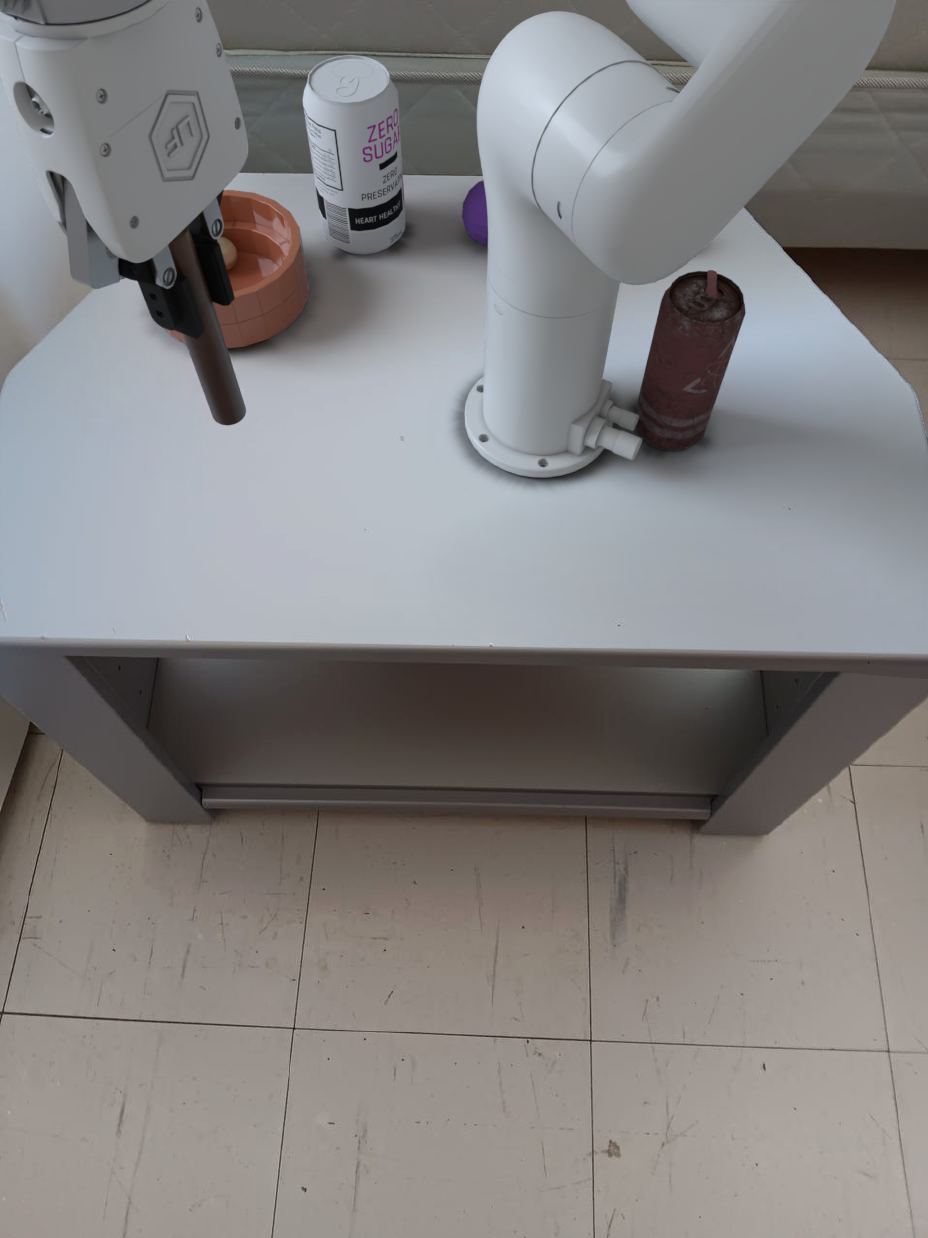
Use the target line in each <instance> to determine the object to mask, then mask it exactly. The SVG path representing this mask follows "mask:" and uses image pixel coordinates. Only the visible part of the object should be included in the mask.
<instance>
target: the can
mask: <svg viewBox="0 0 928 1238" xmlns="http://www.w3.org/2000/svg"><path fill="white" fill-rule="evenodd" d="M746 314H747V313H746V304H745V299H744V293H743V291H742V290H741V288H740V286H739V285H738V284H737V283H735V282H734V281H733V280H732V279H731V278H729V277H727V276H725V275H723V274H721V273H718V272H717V271H715V270H713V269H709V270H707V271H706V270H696V271H691V272H690V271H689V272H686V273H684V274H682V275H680V276H677V278H676V279H675V280H673V282H672V283H670V286H669V287H668V288H667V289H665V290H664V293H663V295H662V298H661V300H660V305H659V309H658V313H657V316H656V317H657V318H656V321H655V325H654V329H653V334H652V339H651V343H650V346H649V351H648V355H647V359H646V363H645V368H644V372H643V376H642V380H641V385H640V389H639V394H638V397H637V402H636V406H635V409H634V413H635V414H637V415H639V420H638V422H637V425H636V427H635V429H636V431H637V433H638V434H639V436H640V438H642V440H644V441H645V443H647V444H649V445H651V446H652V447H653V448H655V449H659V450H662V451H668V452H669V451H671V452H676V451H682V450H686V449H688V448H690V447H691V446H694V445H695V444H698V442H700V440H701V439H702V438H704V435H705V433H706V431H707V428H708V424H709V421H710V419H711V415H712V413H713V410H714V406H715V404H716V401H717V398H718V395H719V392H720V389H721V386H722V384H723V380H724V378H725V375H726V372H727V369H728V366H729V363H730V360H731V357H732V355H733V352H734V348H735V346H736V342H737V340H738V337H739V335H740V331H741V328H742V326H743V322H744V319H745V318H746V317H745V316H746Z"/></svg>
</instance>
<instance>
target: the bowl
mask: <svg viewBox="0 0 928 1238" xmlns="http://www.w3.org/2000/svg"><path fill="white" fill-rule="evenodd" d="M220 211H221V214H222V218H223V221H224V230H223V233H222V235H221V237H224V238H227V239H228V240H230V241H231V242H232V243H233V244H234V246H235V247H236V250H237V261H236V263H235V265H234V266H233V267H232V268H231V269H229V270H227V272H228V275H229V279H230V282H231V286H232V289H233V293H234V296H235V299H234V300H233V301H232V303H231V304H230V305H229V306H226V305H225V306H222V305H220V304H217V303H214V302H213V305H214V308H215V311H216V315H217V318H218V321H219V324H220V327H221V330H222V334H223V337H224V340H225V343H226V346H227V349H234V348H244V347H247V346H251V345H254V344H258V343H260V342H263V341H266V340H268V339H271V338H272V337H274V336H275V335H277V334H279V333H281V332H282V331H284V330H285V329H287V328H289V327H290V326H291V324H293V322H294V321H296V319H297V318H298V317H299V315H300V314H301V313H302V312H303V311H304V308H305V306H306V303H307V301H308V298H309V296H310V279H309V273H308V266H307V260H306V256H305V250H304V244H303V238H302V232H301V227H300V226H299V224H298V222H297V221H296V219H295V217H294V216H293V214H292V213H291V212H290V210H288V209H287V208H286V207H284V205H281V203H279V202H277V201H276V200H275V199H272V198H270V197H266V196H264V195H261V194H259V193H256V192H251V191H244V190H243V191H242V190H235V189H224V191H223V195H222V199H221V204H220ZM161 328H162V329H163V330H164V331H165V332H167V334H169V335H170V336H171V337H172V338H175V339H177V340H179V341H182V342H183V343H184V342H185V339H184V337H183V334H182V333H180V332H177V331H175V330H173V331H171V330H168V329H165V328H163V327H161ZM185 343H186V342H185Z"/></svg>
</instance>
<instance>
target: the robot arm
mask: <svg viewBox="0 0 928 1238" xmlns="http://www.w3.org/2000/svg"><path fill="white" fill-rule="evenodd" d="M625 2H626V4H627V6H628V7H629V9H630V10H631V11H632V12H633V13H634V14H635V16H636V17H637V18H638V19H639V20H640V21H641V22H642V23H643V24H644V25H645V26H646V27H647V28H648V29H649V30H650V31H651V32H652V33H654V35H656V36H657V37H658V38H659V39H660V40H661V41H662V42H663V43H665V44H666V45H667V47H669V48H670V49H672V50H673V51H674V52H675V53H677V54H678V55H679V56H680V57H681V58H683V59H684V61H686V62H687V63H688V64H689V65H691V66H692V67H693V68H694V69H696V71H695V72H694V73H693V75H692V76H691V78H690V79H689V81H687V83H686V84H685V85H684V86H683V88H682V90H681V91H680V90H679V89H678V87H676V86H675V85H673V84H672V83H671V82H670V81H669V80H668V79H666V78H665V77H664V76H663V75H662V73H661V72H660V71H659V70H658V69H657V67H655V66H654V65H652V64H651V63H650V62H649V61H648V60H647V59H645V57H643V56H642V55H641V54H640V53H639V52H638V51H636V50H635V49H633V48H632V47H631V45H629V44H628V43H626V42H625V41H624V40H623V39H622V38H620V37H619V36H618V35H616V33H614V32H613V31H611V30H610V29H609V28H607V27H606V26H604V25H603V24H601V23H599V22H597V21H595V20H593V19H591V18H589V17H588V16H585V15H582V14H579V13H575V12H570V11H563V10H557V11H556V10H555V11H547V12H543V13H539V14H536V15H533V16H531V17H529V18H527V19H525V20H523V21H521V22H520V23H519V24H517V25H516V26H514V27H513V29H511V30H510V31H509V32H508V33H507V34H506V35H505V37H503V38H502V39H501V41H500V42H499V44H498V45H497V47H496V48H495V50H494V51H493V53H492V54H491V56H490V58H489V60H488V62H487V65H486V67H485V70H484V73H483V75H482V79H481V82H480V86H479V91H478V98H477V105H476V136H477V145H478V154H479V160H480V161H479V162H480V167H481V174H482V178H483V179H482V181H483V180H484V187H485V193H486V202H487V215H488V246H487V267H486V289H485V290H486V292H485V321H484V322H485V323H484V330H485V331H484V359H483V362H484V363H483V375H482V377H480V379H478V380H477V381H476V383H474V385H473V386H472V388H471V390H470V391H469V392H468V396H467V398H466V401H465V406H464V427H465V430H466V433H467V437H468V439H469V441H470V442H471V444H472V446H473V448H474V449H475V450H476V451H477V452H478V453H479V454H480V456H481V457H483V458H484V459H485V460H487V461H488V462H489V463H491V464H492V465H494V466H496V467H497V468H499V469H501V470H504V471H505V472H509V473H512V474H514V475H517V476H522V477H530V478H553V477H561V476H564V475H568V474H571V473H574V472H577V471H578V470H580V469H583V468H585V467H587V466H588V465H590V463H592V462H593V461H595V459H596V460H597V458H598V457H599V456H600V455H601V454H602V452H603V451H604V450H605V449H606V450H608V451H611V452H612V453H613V454H615V455H618V456H620V457H623V458H625V459H628V460H630V461H634V460H635V458H636V457H637V455H638V453H639V451H640V449H641V445H642V442H643V438H642V437H641V436H637V435H635V434H632V433H631V432H630V433H629V432H627V431H625V430H622V429H621V430H619V429H617V428H615V427H614V426H613V425H614V424H617V425H618V426H619V427H622V428H625V429H627V430H630V431H634V430H635V429H636V425H637V422H638V420H639V415H637V414H635V412H633V411H630V410H628V409H622V408H620V407H617V406H615V402H614V401H613V400H611V399H610V398H611V397H610V396H611V392H612V386H613V383H612V382H611V381H609V380H606V379H603V378H604V373H605V368H606V367H605V366H606V361H607V357H608V351H609V345H610V339H611V335H612V328H613V324H614V319H615V313H616V307H617V303H618V298H619V297H618V296H619V291H620V286H621V283H622V284H625V285H629V286H645V285H649V284H653V283H656V282H658V281H662V280H663V279H666V278H668V277H669V276H671V275H673V274H675V273H676V272H678V271H679V270H680V269H682V268H684V267H685V266H686V265H688V263H690V262H691V261H692V260H693V259H695V257H697V256H698V255H699V254H700V253H701V252H702V251H703V250H704V249H705V248H706V247H707V246H708V245H709V244H711V242H712V241H713V240H715V238H716V237H717V236H718V235H719V234H720V233H721V232H722V231H723V230H724V229H725V228H726V227H727V225H729V224H730V223H731V222H732V220H734V218H735V217H736V216H737V215H738V214H739V212H740V211H742V210H743V208H744V207H745V206H746V205H747V204H748V203H749V202H750V201H751V200H752V198H754V196H756V194H757V193H758V192H759V191H760V190H761V189H762V188H763V187H764V186H765V185H766V183H767V182H768V181H770V179H771V178H772V177H773V176H774V175H775V174H776V173H777V172H778V171H779V170H780V168H781V167H782V166H783V165H784V164H785V163H786V162H787V161H788V160H789V159H790V158H791V157H792V155H793V154H795V152H796V151H797V150H798V149H799V148H800V147H801V146H802V145H803V144H804V143H805V142H806V140H807V139H808V138H809V137H810V136H811V135H812V134H813V133H814V132H815V131H816V130H817V128H818V127H819V126H820V125H821V124H822V123H823V122H824V121H825V120H826V119H827V118H828V117H829V115H830V114H831V113H832V112H833V111H834V109H835V108H836V107H837V106H838V105H840V103H841V101H842V100H843V99H844V98H845V96H846V95H847V94H848V93H849V92H850V91H851V90H852V88H853V87H854V86H855V84H856V83H857V82H858V80H859V79H860V78H861V76H862V75H863V74H864V72H865V70H866V68H867V67H868V66H869V64H870V62H871V61H872V59H873V57H874V55H875V54H876V52H877V50H878V48H879V46H880V44H881V42H882V41H883V38H884V36H885V34H886V32H887V29H888V27H889V25H890V23H891V20H892V18H893V15H894V12H895V8H896V4H897V0H625ZM0 78H1V82H2V85H3V88H4V89H3V90H4V93H5V96H6V99H7V102H8V105H9V109H10V112H11V115H12V117H13V120H14V124H15V127H16V129H17V132H18V135H19V138H20V141H21V143H22V146H23V149H24V152H25V154H26V157H27V160H28V163H29V165H30V167H31V170H32V172H33V174H34V177H35V179H36V182H37V184H38V186H39V188H40V191H41V193H42V196H43V198H44V200H45V202H46V205H47V206H48V208H49V211H50V213H51V214H52V216H53V218H54V221H55V222H56V223H57V225H58V227H59V228H60V230H61V231H62V233H63V234H64V235H65V236H66V237H67V238H66V239H67V250H68V260H69V261H68V263H69V272H70V278H71V279H72V280H73V281H74V282H77V283H79V284H82V285H84V286H87V287H89V288H92V289H94V290H98V289H99V290H100V289H103V288H105V287H108V286H111V285H114V284H118V283H120V281H122V280H124V279H128V280H130V281H134V282H137V284H138V286H139V289H140V291H141V294H142V297H143V299H144V302H145V304H146V307H147V309H148V312H149V314H150V317H151V319H152V320H153V321H154V322H155V323H156V325H158V326H159V327H161V328H162V327H163V328H165V329H168V330H171V331H173V330H175V331H177V332H180V333H182V334H185V335H187V336H190V337H192V338H195V339H199V338H200V337H201V336H202V334H203V333H204V328H205V327H204V324H203V321H202V318H201V315H200V312H199V309H198V306H197V303H196V300H195V297H194V294H193V291H192V288H191V285H190V282H189V279H188V278H187V277H186V276H185V275H183V274H181V273H178V272H177V271H176V268H175V264H174V261H173V258H172V255H171V252H170V249H169V246H168V244H169V243H170V242H171V241H172V240H173V239H174V238H175V237H176V236H177V235H178V234H179V233H180V232H181V231H182V230H183V229H184V228H186V227H187V226H188V225H189V228H190V232H191V235H192V238H193V241H194V244H195V248H196V251H197V254H198V257H199V260H200V263H201V267H202V270H203V273H204V276H205V279H206V283H207V286H208V289H209V292H210V295H211V299H212V302H214V303H217V304H220V305H222V306H225V305H226V306H229V305H230V304H231V303H232V301H233V300H234V299H235V296H234V293H233V289H232V286H231V282H230V279H229V275H228V272H227V268H226V265H225V261H224V258H223V254H222V251H221V247H220V244H219V243H218V241H217V239H218V238H220V237H221V235H222V233H223V230H224V221H223V218H222V214H221V211H220V204H221V199H222V195H223V191H224V190H225V189H226V188H227V186H229V184H231V182H232V181H233V180H234V179H235V178H236V177H237V176H238V175H239V173H240V172H241V171H242V169H243V168H244V166H245V164H246V162H247V159H248V156H249V140H248V134H247V129H246V125H245V121H244V117H243V116H244V115H243V112H242V109H241V108H242V107H241V105H240V101H239V96H238V93H237V89H236V86H235V83H234V79H233V75H232V73H231V69H230V65H229V62H228V59H227V55H226V52H225V49H224V47H223V44H222V40H221V38H220V34H219V31H218V29H217V26H216V23H215V20H214V17H213V15H212V13H211V9H210V7H209V4H208V2H207V0H0ZM163 328H162V329H163ZM165 329H164V330H165Z"/></svg>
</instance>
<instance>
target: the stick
mask: <svg viewBox="0 0 928 1238" xmlns="http://www.w3.org/2000/svg"><path fill="white" fill-rule="evenodd" d="M168 246H169V249H170V252H171V255H172V258H173V261H174V264H175V268H176V271H177V272H178V273H181V274H183V275H185V276H186V277H187V278H188V279H189V282H190V285H191V288H192V291H193V294H194V297H195V300H196V303H197V306H198V309H199V312H200V315H201V318H202V321H203V324H204V327H205V328H204V333H203V334H202V336H201V337H200V338H199V339H195V338H192V337H190V336H187V335H185V334H183V337H184V339H185V345H186V347H187V350H188V354H189V356H190V359H191V361H192V364H193V367H194V370H195V372H196V376H197V378H198V380H199V383H200V386H201V389H202V392H203V395H204V397H205V400H206V402H207V405H208V408H209V411H210V413H211V416H212V419H213V420H214V421H215V422H216V423H217V424H219V425H222V426H233V425H236V424H238V423H240V422H241V421H242V420H244V418H245V416H246V414H247V407H246V405H245V401H244V398H243V395H242V392H241V388H240V385H239V381H238V377H237V376H236V373H235V369H234V366H233V363H232V360H231V356H230V353H229V350H228V348H227V346H226V343H225V340H224V337H223V334H222V330H221V327H220V324H219V321H218V318H217V315H216V311H215V308H214V305H213V302H212V299H211V295H210V292H209V289H208V286H207V283H206V279H205V276H204V273H203V270H202V267H201V263H200V260H199V257H198V254H197V251H196V248H195V244H194V241H193V238H192V235H191V232H190V228H189V225H188V226H187V227H186V228H184V229H183V230H182V231H181V232H180V233H179V234H178V235H177V236H176V237H175V238H174V239H173V240H172V241H171V242H170V243H169V244H168Z"/></svg>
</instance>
